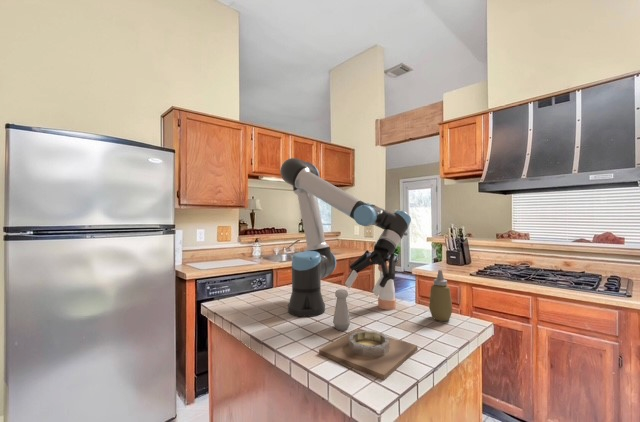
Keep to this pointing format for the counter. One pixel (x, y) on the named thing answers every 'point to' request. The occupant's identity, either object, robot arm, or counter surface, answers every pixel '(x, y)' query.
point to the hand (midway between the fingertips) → (360, 289)
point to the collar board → (370, 362)
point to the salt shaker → (341, 311)
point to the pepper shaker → (387, 293)
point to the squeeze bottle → (440, 299)
